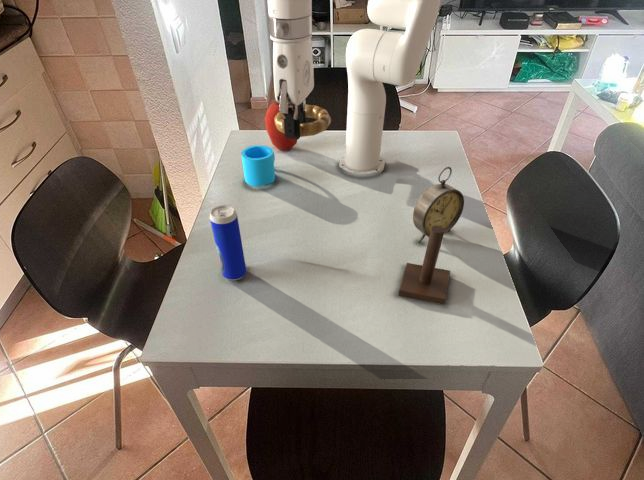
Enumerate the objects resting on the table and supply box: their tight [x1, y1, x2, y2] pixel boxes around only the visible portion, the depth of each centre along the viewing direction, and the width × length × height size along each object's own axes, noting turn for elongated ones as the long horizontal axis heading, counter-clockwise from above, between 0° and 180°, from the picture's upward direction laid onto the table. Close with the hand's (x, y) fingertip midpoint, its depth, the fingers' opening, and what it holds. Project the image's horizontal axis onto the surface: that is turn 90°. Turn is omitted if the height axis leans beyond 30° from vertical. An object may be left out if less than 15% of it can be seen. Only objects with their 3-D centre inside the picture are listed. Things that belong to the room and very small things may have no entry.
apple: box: [264, 101, 299, 152], centre depth 123 cm, size 10×10×14 cm
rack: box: [397, 226, 451, 306], centre depth 82 cm, size 9×9×14 cm
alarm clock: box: [412, 166, 465, 244], centre depth 92 cm, size 11×5×16 cm, turn 117°
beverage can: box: [209, 204, 247, 282], centre depth 85 cm, size 5×5×15 cm
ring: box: [274, 104, 332, 138], centre depth 91 cm, size 12×12×2 cm
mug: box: [240, 144, 276, 187], centre depth 113 cm, size 12×8×8 cm
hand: (295, 133), depth 89 cm, fingers closed on ring, 2 cm apart
